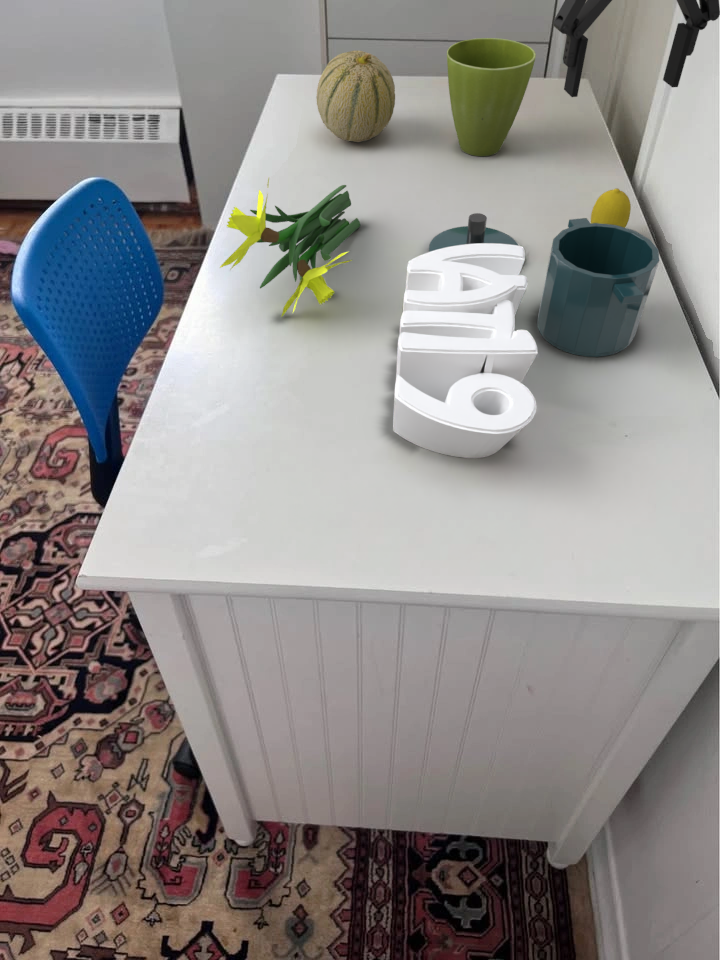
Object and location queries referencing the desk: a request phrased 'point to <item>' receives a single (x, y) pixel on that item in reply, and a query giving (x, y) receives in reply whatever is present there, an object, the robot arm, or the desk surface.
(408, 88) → the desk surface
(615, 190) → the lemon
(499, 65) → the flower pot
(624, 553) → the desk surface
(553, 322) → the pot
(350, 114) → the cantaloupe
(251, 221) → the daffodil flowers
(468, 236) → the lid
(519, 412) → the wavy white extrusion
